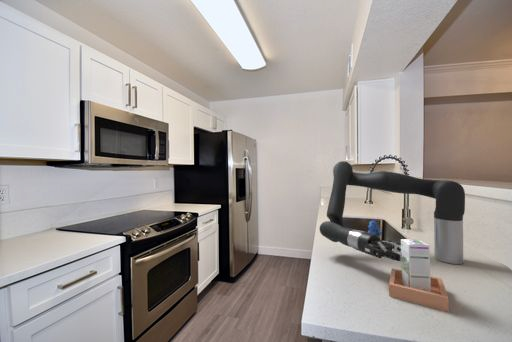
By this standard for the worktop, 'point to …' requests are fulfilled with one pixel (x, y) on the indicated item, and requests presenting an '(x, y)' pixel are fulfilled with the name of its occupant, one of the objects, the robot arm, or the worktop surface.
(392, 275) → the dish
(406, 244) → the syrup box
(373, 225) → the grapes
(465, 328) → the worktop surface
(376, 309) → the worktop surface
